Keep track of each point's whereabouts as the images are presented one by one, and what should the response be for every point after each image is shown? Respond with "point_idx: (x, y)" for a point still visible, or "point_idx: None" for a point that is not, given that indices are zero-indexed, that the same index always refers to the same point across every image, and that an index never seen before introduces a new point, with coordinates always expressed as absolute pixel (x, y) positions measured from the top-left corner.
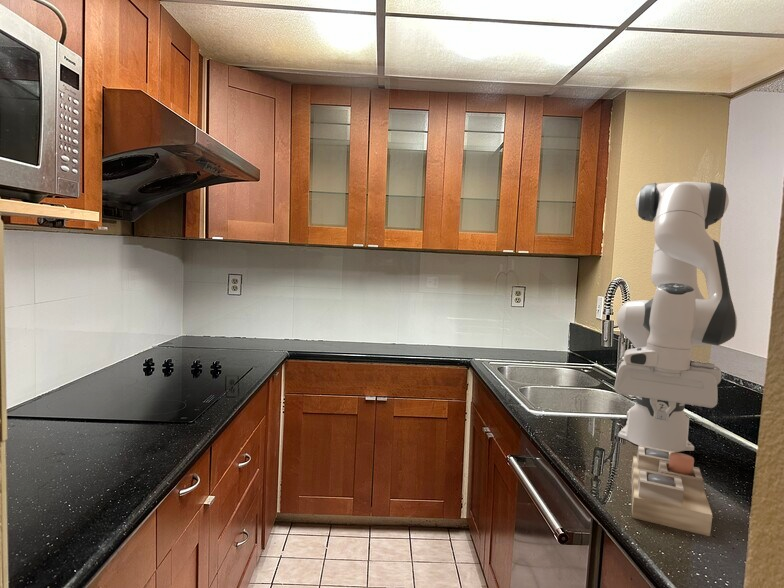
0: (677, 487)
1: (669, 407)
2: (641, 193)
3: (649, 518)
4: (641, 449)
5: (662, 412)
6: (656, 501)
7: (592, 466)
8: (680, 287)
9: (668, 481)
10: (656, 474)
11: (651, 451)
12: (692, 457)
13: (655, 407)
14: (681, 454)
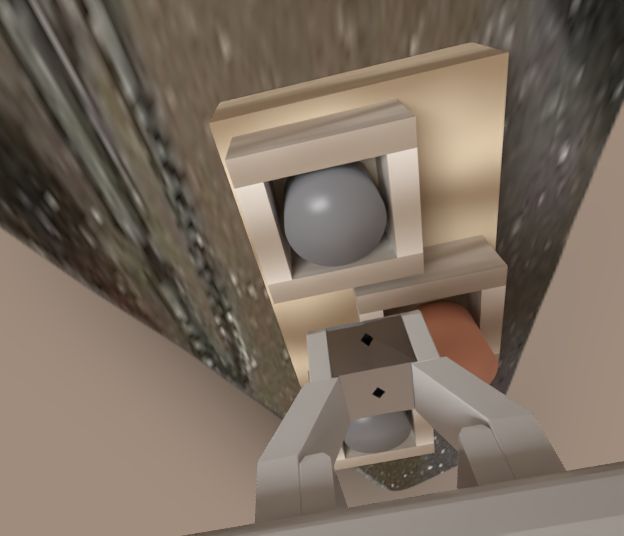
0: (419, 446)
1: (458, 425)
2: None
3: None
4: (260, 225)
5: (386, 406)
6: None
7: (81, 165)
8: None
9: (397, 437)
10: (363, 420)
11: (309, 224)
12: (493, 358)
13: (332, 462)
14: (451, 358)
